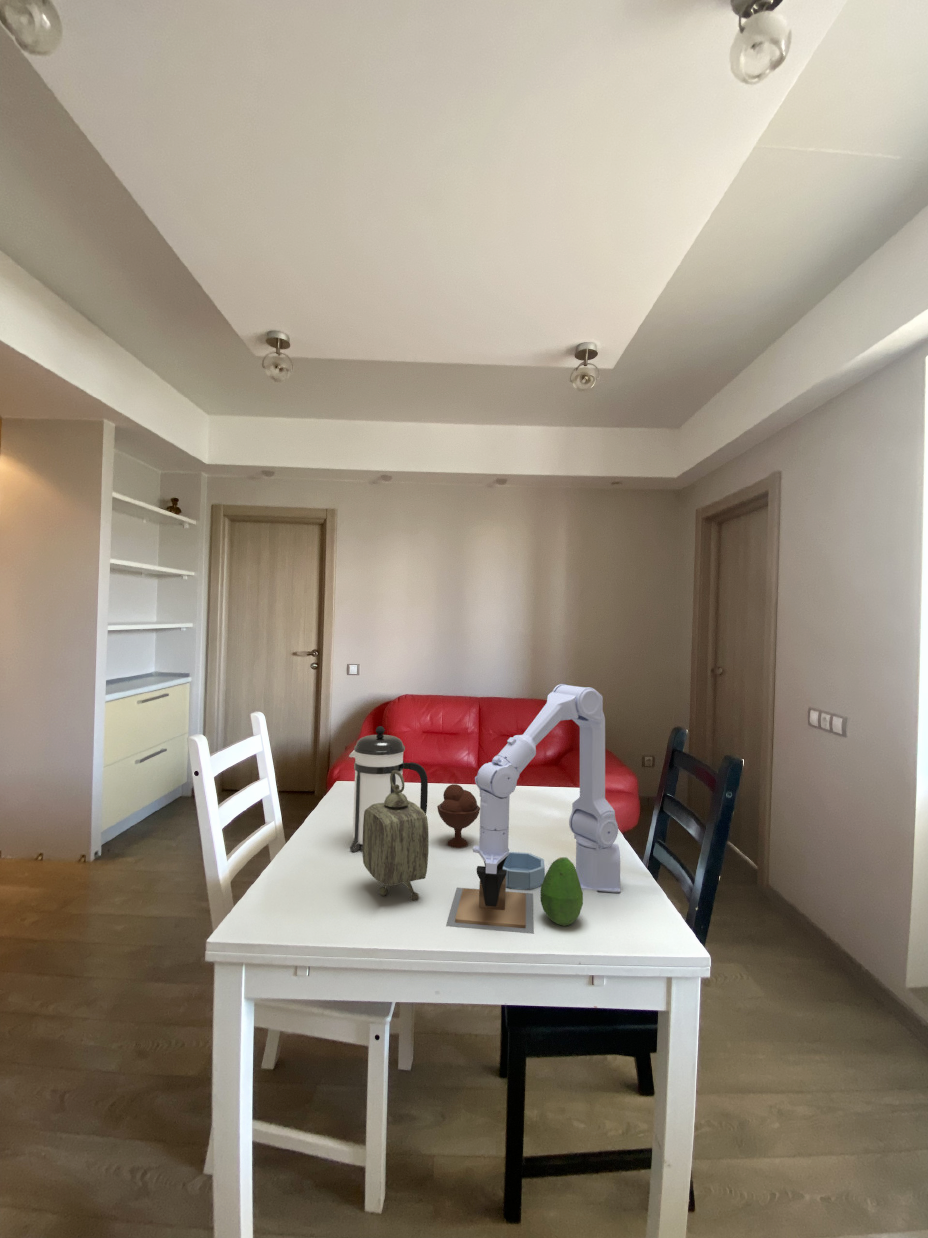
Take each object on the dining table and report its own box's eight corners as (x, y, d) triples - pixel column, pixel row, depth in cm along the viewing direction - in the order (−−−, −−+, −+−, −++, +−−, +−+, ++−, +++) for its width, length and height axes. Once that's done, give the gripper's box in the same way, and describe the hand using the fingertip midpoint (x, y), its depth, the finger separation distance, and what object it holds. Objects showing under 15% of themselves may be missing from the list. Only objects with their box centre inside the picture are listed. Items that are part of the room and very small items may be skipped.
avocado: (576, 913, 110) (578, 850, 110) (586, 934, 102) (588, 867, 102) (536, 912, 110) (537, 850, 110) (543, 933, 102) (544, 866, 102)
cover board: (525, 896, 115) (526, 868, 116) (525, 928, 102) (526, 897, 103) (462, 891, 117) (463, 864, 117) (455, 922, 104) (455, 892, 104)
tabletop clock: (427, 903, 112) (430, 777, 113) (384, 913, 107) (388, 781, 108) (398, 875, 125) (401, 762, 125) (359, 883, 120) (363, 766, 121)
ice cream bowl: (442, 853, 138) (444, 792, 138) (432, 837, 149) (434, 780, 149) (483, 850, 141) (485, 790, 141) (471, 835, 151) (472, 779, 152)
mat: (532, 895, 117) (532, 893, 117) (533, 935, 101) (533, 933, 101) (456, 889, 119) (456, 887, 119) (445, 928, 103) (445, 926, 103)
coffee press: (367, 862, 131) (371, 733, 132) (336, 842, 144) (340, 724, 144) (427, 846, 142) (431, 727, 143) (393, 829, 155) (397, 719, 156)
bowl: (543, 871, 129) (543, 854, 129) (544, 893, 118) (545, 873, 118) (495, 868, 130) (495, 850, 130) (492, 889, 119) (493, 870, 119)
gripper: (477, 813, 118) (475, 879, 117) (470, 837, 103) (468, 912, 103) (510, 815, 117) (509, 881, 117) (508, 840, 103) (506, 915, 102)
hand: (492, 896), depth 110 cm, fingers open, 7 cm apart
